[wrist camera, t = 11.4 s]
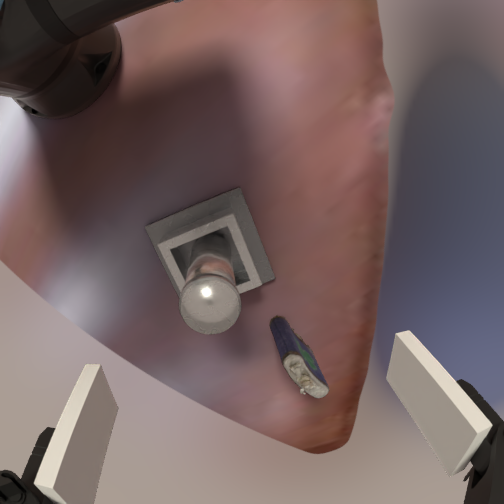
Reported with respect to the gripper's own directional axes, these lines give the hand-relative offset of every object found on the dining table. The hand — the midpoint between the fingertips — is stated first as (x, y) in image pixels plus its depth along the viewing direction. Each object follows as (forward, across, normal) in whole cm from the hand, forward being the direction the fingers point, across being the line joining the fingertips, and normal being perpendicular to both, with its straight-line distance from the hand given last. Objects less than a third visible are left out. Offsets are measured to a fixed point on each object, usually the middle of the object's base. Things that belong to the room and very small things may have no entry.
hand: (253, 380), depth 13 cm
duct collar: (+27, -2, -3) cm, 27 cm away
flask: (+27, +7, -17) cm, 32 cm away
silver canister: (+26, -2, -3) cm, 26 cm away
